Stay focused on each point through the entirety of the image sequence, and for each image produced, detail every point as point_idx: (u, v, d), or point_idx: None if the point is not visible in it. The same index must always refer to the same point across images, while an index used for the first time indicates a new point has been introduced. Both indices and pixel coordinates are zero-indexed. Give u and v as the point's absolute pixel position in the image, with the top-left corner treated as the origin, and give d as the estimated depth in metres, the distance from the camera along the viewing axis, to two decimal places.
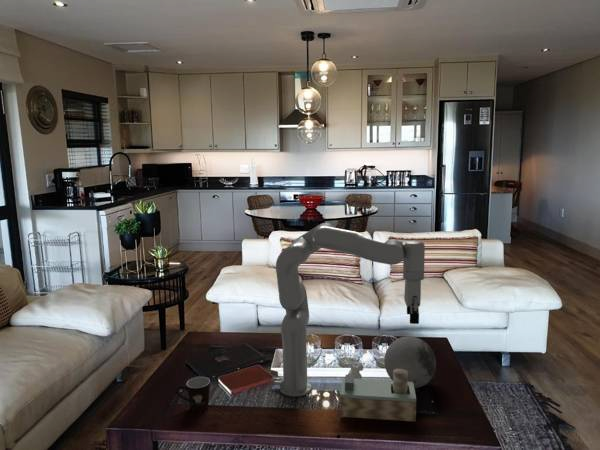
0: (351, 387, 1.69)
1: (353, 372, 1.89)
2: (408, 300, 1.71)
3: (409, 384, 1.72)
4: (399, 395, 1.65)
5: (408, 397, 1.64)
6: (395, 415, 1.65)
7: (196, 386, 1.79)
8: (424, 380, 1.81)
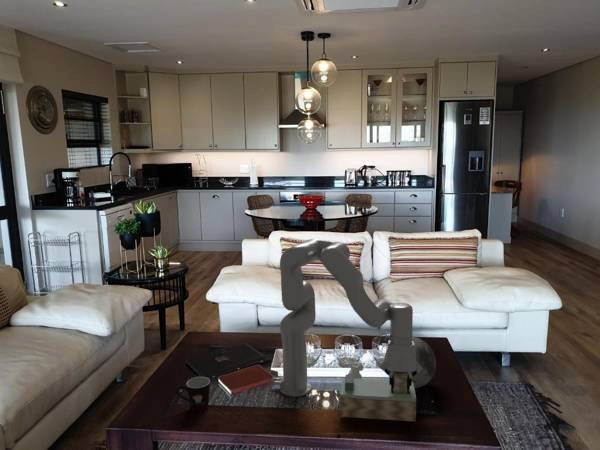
0: (351, 387, 1.69)
1: (353, 372, 1.89)
2: (415, 364, 1.65)
3: None
4: (399, 395, 1.65)
5: (408, 397, 1.64)
6: (395, 415, 1.65)
7: (196, 386, 1.79)
8: (424, 380, 1.81)
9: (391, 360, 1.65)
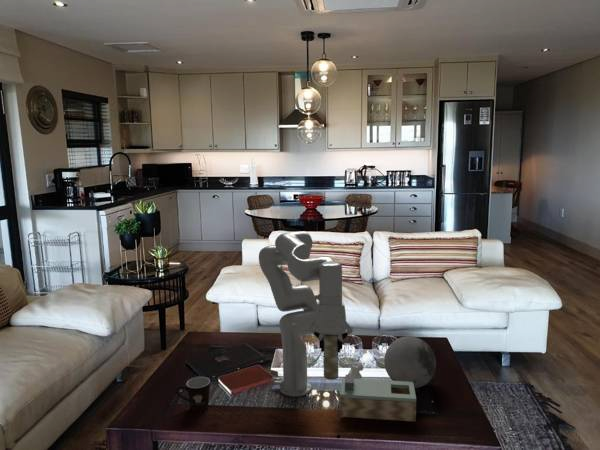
0: (351, 387, 1.69)
1: (353, 372, 1.88)
2: (345, 326, 1.56)
3: (409, 384, 1.72)
4: (399, 395, 1.65)
5: (408, 397, 1.64)
6: (395, 415, 1.65)
7: (196, 386, 1.79)
8: (424, 380, 1.81)
9: (320, 321, 1.56)
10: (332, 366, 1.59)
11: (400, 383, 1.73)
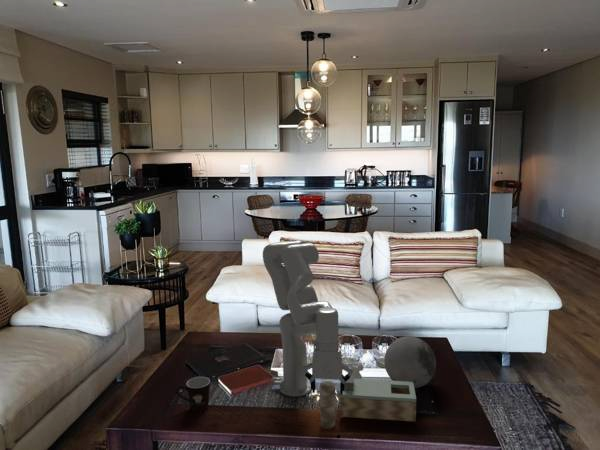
0: (351, 387, 1.69)
1: (353, 372, 1.88)
2: (341, 371, 1.58)
3: (409, 384, 1.72)
4: (399, 395, 1.65)
5: (408, 397, 1.64)
6: (395, 415, 1.65)
7: (196, 386, 1.79)
8: (424, 380, 1.81)
9: (316, 367, 1.59)
10: (329, 415, 1.61)
11: (400, 383, 1.73)
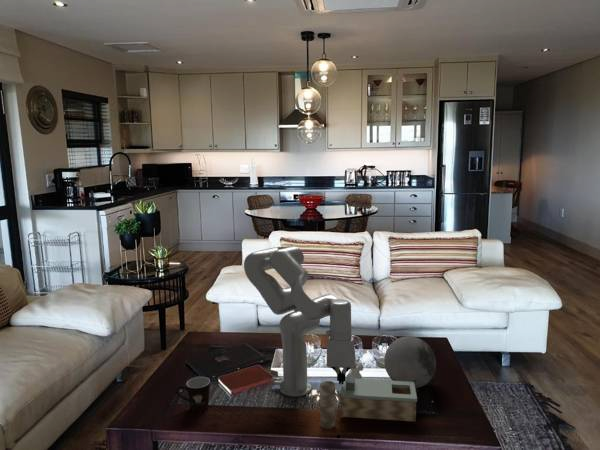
0: (352, 387, 1.69)
1: (353, 372, 1.88)
2: (354, 360, 1.67)
3: (410, 384, 1.72)
4: (400, 395, 1.65)
5: (409, 397, 1.64)
6: (395, 415, 1.65)
7: (196, 386, 1.79)
8: (424, 380, 1.81)
9: (331, 356, 1.68)
10: (329, 415, 1.61)
11: (401, 383, 1.73)
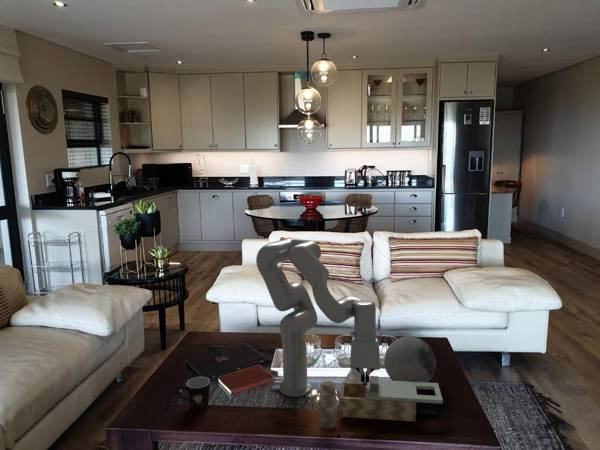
0: (376, 388, 1.67)
1: (353, 372, 1.88)
2: (379, 361, 1.66)
3: (434, 385, 1.71)
4: (425, 397, 1.63)
5: (434, 399, 1.62)
6: (395, 415, 1.65)
7: (196, 386, 1.79)
8: (424, 380, 1.81)
9: (355, 357, 1.67)
10: (329, 415, 1.61)
11: (425, 384, 1.72)
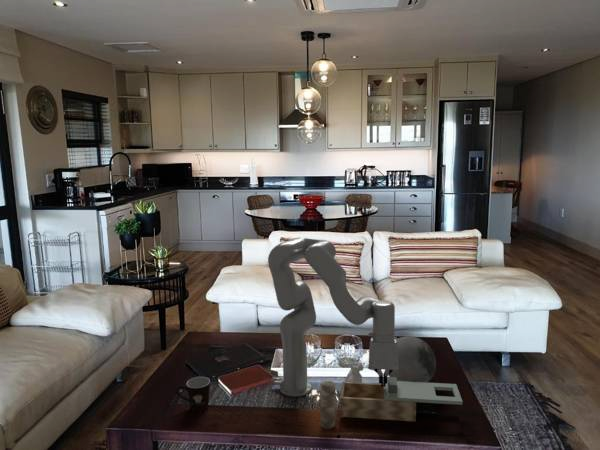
0: (395, 389, 1.66)
1: (353, 372, 1.88)
2: (397, 362, 1.65)
3: (453, 386, 1.70)
4: (444, 398, 1.63)
5: (454, 400, 1.61)
6: (395, 415, 1.65)
7: (196, 386, 1.79)
8: (424, 380, 1.81)
9: (373, 358, 1.66)
10: (329, 415, 1.61)
11: (443, 385, 1.71)
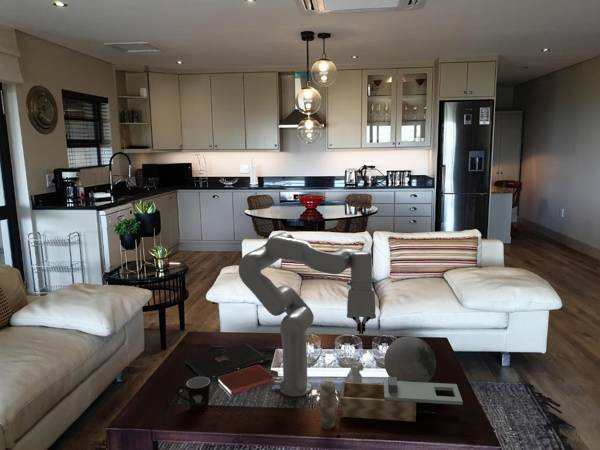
0: (395, 389, 1.66)
1: (353, 372, 1.89)
2: (374, 309, 1.71)
3: (453, 386, 1.70)
4: (445, 398, 1.63)
5: (454, 400, 1.61)
6: (395, 415, 1.65)
7: (196, 386, 1.79)
8: (424, 380, 1.81)
9: (351, 305, 1.71)
10: (329, 415, 1.61)
11: (443, 385, 1.71)
